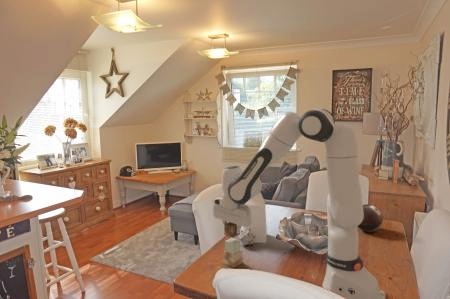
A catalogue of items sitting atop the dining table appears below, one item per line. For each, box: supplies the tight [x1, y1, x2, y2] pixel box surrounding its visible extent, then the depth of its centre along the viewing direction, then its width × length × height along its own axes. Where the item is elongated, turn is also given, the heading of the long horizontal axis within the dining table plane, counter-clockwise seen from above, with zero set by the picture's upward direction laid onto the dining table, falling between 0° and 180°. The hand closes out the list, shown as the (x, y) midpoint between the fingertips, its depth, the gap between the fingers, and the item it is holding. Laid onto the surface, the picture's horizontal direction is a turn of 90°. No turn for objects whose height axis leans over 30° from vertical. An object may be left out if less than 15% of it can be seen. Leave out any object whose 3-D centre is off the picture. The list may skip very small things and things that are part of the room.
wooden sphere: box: [357, 204, 384, 233], centre depth 181 cm, size 15×15×15 cm
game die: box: [237, 229, 256, 248], centre depth 166 cm, size 9×8×10 cm
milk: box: [242, 191, 268, 244], centre depth 173 cm, size 12×12×26 cm
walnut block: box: [223, 221, 241, 238], centre depth 146 cm, size 5×5×5 cm
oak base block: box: [223, 249, 243, 268], centre depth 148 cm, size 6×6×6 cm
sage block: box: [224, 237, 241, 254], centre depth 147 cm, size 5×5×5 cm
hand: (232, 231), depth 146 cm, fingers closed on walnut block, 5 cm apart
